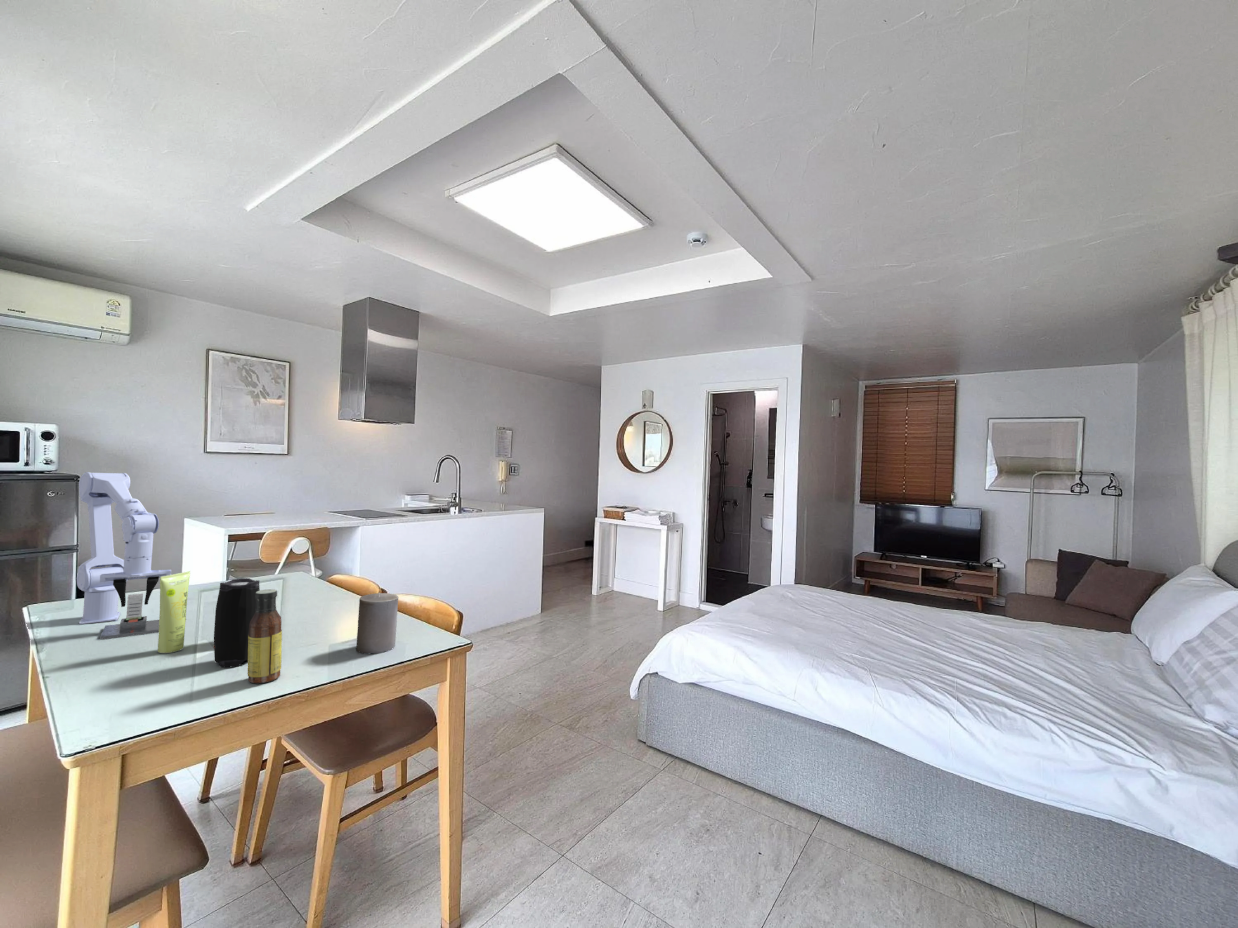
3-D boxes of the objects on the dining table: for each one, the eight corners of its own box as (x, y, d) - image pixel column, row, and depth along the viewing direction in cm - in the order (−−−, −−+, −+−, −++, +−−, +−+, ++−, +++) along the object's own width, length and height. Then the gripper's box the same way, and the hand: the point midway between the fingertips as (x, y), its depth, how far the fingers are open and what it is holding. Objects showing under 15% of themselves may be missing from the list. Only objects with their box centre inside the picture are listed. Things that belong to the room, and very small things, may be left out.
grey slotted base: (105, 628, 143) (106, 615, 143) (162, 621, 151) (163, 610, 151) (100, 639, 134) (101, 626, 134) (161, 631, 142) (162, 619, 142)
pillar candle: (347, 649, 134) (351, 592, 134) (380, 639, 143) (383, 586, 143) (371, 656, 130) (375, 598, 130) (403, 646, 138) (407, 591, 139)
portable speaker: (209, 671, 116) (214, 586, 117) (216, 658, 124) (220, 578, 125) (255, 665, 121) (259, 583, 121) (258, 653, 129) (262, 576, 129)
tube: (181, 652, 127) (186, 574, 128) (154, 655, 124) (160, 576, 125) (185, 645, 132) (190, 570, 132) (159, 648, 129) (164, 572, 130)
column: (126, 617, 143) (128, 594, 143) (141, 616, 145) (143, 593, 145) (125, 620, 140) (127, 597, 140) (141, 618, 142) (142, 595, 142)
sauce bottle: (275, 671, 118) (280, 586, 118) (284, 679, 114) (290, 590, 114) (241, 679, 112) (247, 590, 113) (250, 687, 108) (255, 595, 109)
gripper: (100, 560, 135) (96, 611, 135) (172, 556, 145) (169, 604, 144) (103, 556, 141) (99, 605, 140) (172, 553, 150) (169, 599, 150)
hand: (134, 604), depth 143 cm, fingers open, 4 cm apart
